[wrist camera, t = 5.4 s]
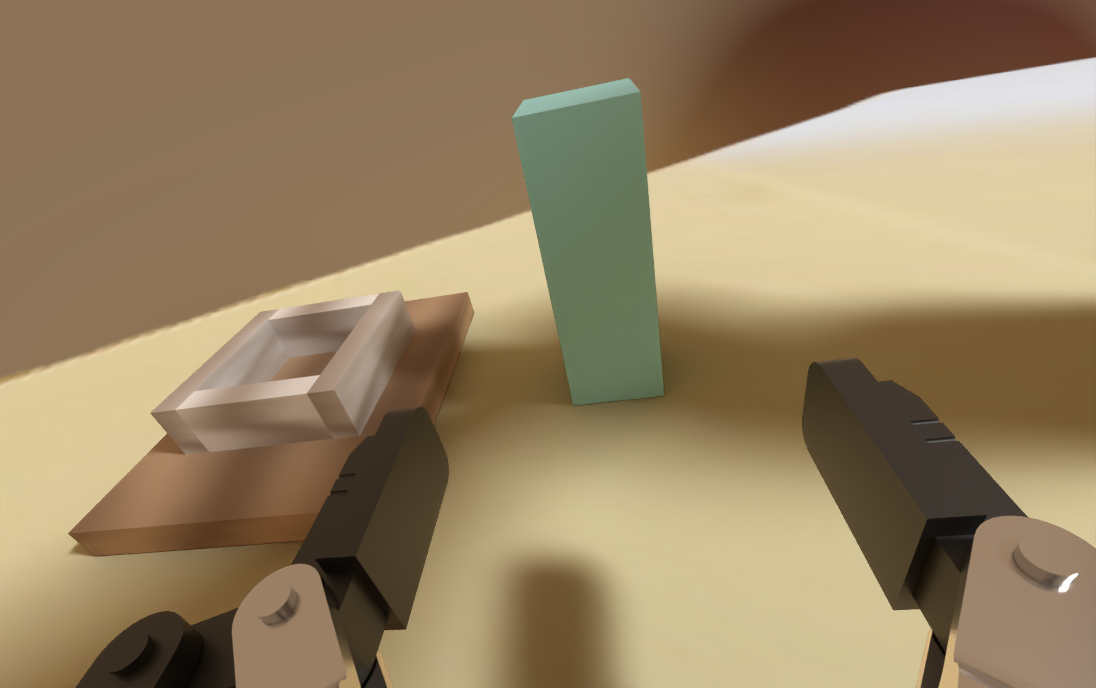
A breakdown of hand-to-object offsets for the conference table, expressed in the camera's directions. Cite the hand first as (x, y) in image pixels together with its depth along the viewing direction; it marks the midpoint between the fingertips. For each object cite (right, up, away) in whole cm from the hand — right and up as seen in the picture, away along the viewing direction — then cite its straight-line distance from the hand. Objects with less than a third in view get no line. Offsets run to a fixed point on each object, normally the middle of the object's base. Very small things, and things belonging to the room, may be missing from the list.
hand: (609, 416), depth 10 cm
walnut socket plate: (-13, -2, +15) cm, 20 cm away
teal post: (+2, 0, +13) cm, 13 cm away
